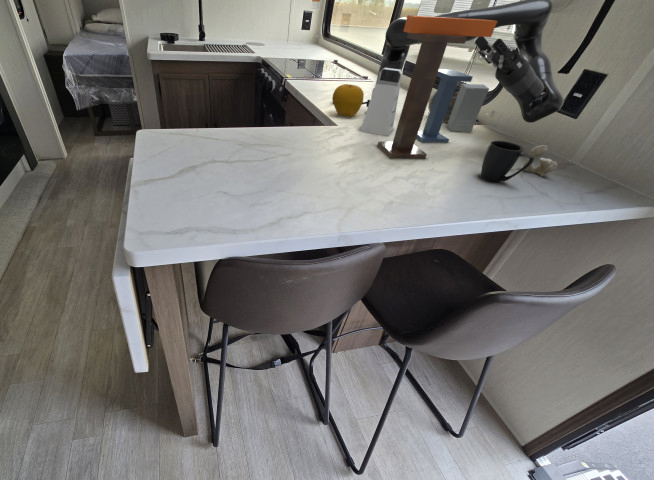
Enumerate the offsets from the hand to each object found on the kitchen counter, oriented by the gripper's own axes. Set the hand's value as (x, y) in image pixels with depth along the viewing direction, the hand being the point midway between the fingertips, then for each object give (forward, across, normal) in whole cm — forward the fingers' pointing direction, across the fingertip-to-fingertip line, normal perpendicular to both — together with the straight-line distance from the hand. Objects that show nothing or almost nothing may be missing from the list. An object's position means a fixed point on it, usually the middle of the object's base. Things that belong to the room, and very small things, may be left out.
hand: (486, 40), depth 97 cm
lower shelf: (-18, -15, +26) cm, 35 cm away
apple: (+3, -44, +38) cm, 58 cm away
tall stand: (-2, 0, +35) cm, 35 cm away
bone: (-35, +17, +16) cm, 42 cm away
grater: (-3, -24, +34) cm, 42 cm away
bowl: (-35, -42, +16) cm, 57 cm away
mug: (-20, +23, +25) cm, 39 cm away
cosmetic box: (-34, -26, +17) cm, 46 cm away
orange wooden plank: (+11, 0, +6) cm, 12 cm away
